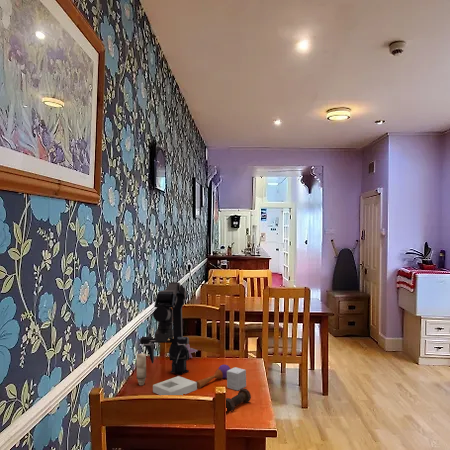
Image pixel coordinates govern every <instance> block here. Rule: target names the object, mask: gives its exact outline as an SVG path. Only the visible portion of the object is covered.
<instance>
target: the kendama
mask: <svg viewBox="0 0 450 450" xmlns="http://www.w3.org/2000/svg"><path fill="white" fill-rule="evenodd" d="M230 369H231V368H230V366H229V365H227V364H222V365H220V366H219V367H218V368H217V369H216V371H214V374H213V375H211V376H208V377H205V378H202V379H199V380H196V381H195V382H197V390H200V389H202V387H204V386H205V385H206V384H209V383H210V382H211V381H212V380H213V379H220V380H221V379H227V371H228V370H230Z"/></svg>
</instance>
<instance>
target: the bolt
mask: <svg viewBox="0 0 450 450" xmlns="http://www.w3.org/2000/svg"><path fill="white" fill-rule="evenodd" d="M251 398H252V395H251V392H250V391H249V389H247V388H246V387H244V388H241V389H240V390H238V393H237V395H234V396H233V397H226V398H225V399H226V408H227V412H229V411H231V412H233V411H234V410H235V408H236V406H238V405H240V404H242V403H246V404H248V403H249V402H250V401H251ZM232 410H233V411H232Z"/></svg>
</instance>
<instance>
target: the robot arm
mask: <svg viewBox="0 0 450 450" xmlns="http://www.w3.org/2000/svg"><path fill="white" fill-rule="evenodd" d="M186 300H187V291H186V287H184V286H182V285H181V283H180V282H178V281H172V282H171V281H170V282H168V283H167V287H165V289H163V290H160V291H158V293H156V297H155V302H154V308H155V309H154V310H153V312H152V316H153V319H154V320H155V321H156V322H157V323H158V324H157V330H156V331H155V332H154V337H153V336H141V337H140V340H139V345H143V347H145V348H146V350H147V353H148V354H149V358H150V361H151V364H154V361H155V356H154V352H155V351H154V350H155V349H154V347H155V345H154V343H155V344H164V343H165V344H169V343H170V345H169V346H170V347H169V349H168V356H169V361H171V370H170V371H169V372H170V373H172V374H175V375H177V376H180V375H182V374H186V373H188V372H189V370H188V369H187V361H188V360H190V357H189V350H188V348H187V347H186V345H188V344H189V345H190V338H189V337H188V336H183V334H184V331H183V306H184V305H185V303H186Z"/></svg>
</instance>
